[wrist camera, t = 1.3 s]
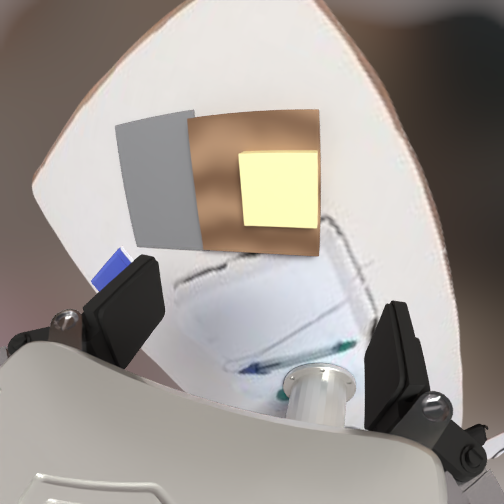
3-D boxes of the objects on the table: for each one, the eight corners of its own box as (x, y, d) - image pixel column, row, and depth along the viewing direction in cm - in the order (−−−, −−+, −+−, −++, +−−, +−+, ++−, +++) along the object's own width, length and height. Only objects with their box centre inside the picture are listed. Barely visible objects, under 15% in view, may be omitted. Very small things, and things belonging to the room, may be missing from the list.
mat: (210, 249, 38) (209, 250, 38) (138, 245, 41) (137, 246, 41) (194, 109, 30) (192, 109, 30) (116, 125, 33) (114, 125, 33)
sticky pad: (317, 221, 30) (316, 228, 29) (249, 218, 32) (244, 225, 30) (317, 150, 27) (317, 152, 25) (244, 151, 29) (238, 154, 27)
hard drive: (119, 314, 49) (152, 288, 43) (90, 281, 47) (118, 248, 41) (123, 309, 50) (157, 282, 44) (95, 277, 48) (123, 244, 42)
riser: (319, 248, 34) (318, 256, 32) (209, 242, 37) (203, 249, 36) (319, 109, 27) (318, 109, 25) (194, 117, 30) (186, 118, 29)
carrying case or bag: (489, 434, 44) (486, 417, 41) (490, 443, 41) (488, 427, 38) (456, 449, 49) (448, 434, 46) (457, 458, 46) (449, 444, 44)
